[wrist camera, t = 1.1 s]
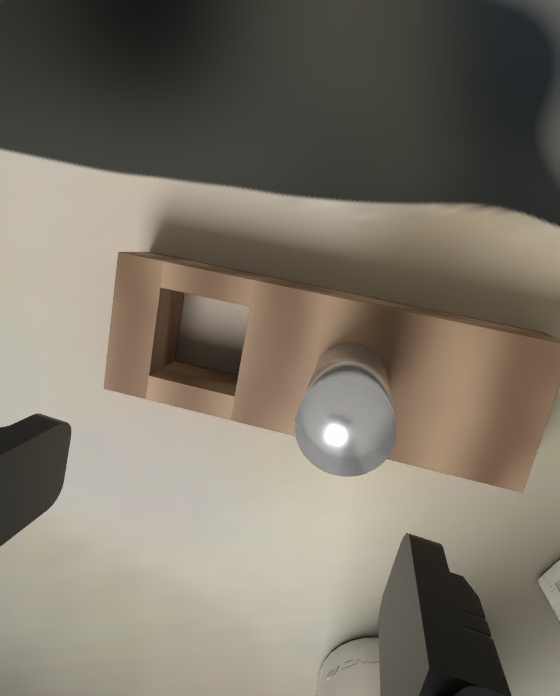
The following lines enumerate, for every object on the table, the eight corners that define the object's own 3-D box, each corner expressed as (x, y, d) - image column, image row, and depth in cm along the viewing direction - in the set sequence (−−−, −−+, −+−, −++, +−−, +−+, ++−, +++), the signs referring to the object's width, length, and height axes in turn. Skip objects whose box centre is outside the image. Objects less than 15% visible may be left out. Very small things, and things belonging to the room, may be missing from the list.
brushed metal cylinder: (399, 393, 26) (414, 452, 19) (335, 423, 27) (324, 491, 20) (365, 329, 26) (367, 363, 18) (301, 362, 27) (277, 407, 19)
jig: (544, 333, 28) (572, 346, 24) (502, 461, 30) (522, 492, 26) (148, 252, 31) (118, 251, 28) (134, 372, 33) (103, 388, 29)
